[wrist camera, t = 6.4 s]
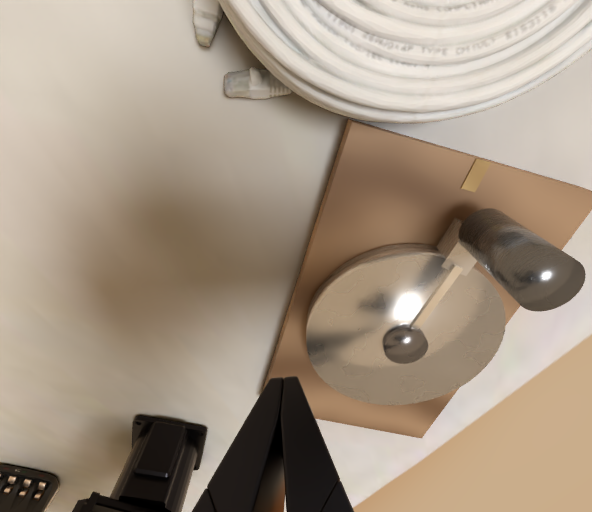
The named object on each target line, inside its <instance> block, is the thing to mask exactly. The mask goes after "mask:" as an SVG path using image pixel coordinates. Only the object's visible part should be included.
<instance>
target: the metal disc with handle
mask: <svg viewBox="0 0 592 512" xmlns="http://www.w3.org/2000/svg"><path fill="white" fill-rule="evenodd" d="M477 261H478V262H479V263H480V264H481V266H482V267H483V268H484V269H485V270H486V271H487V272H488V273H489V274H490V275H491V276H492V277H493V278H494V279H495V280H496V281H497V282H498V283H499V284H500V285H501V286H502V287H503V288H504V289H505V290H506V291H507V292H508V293H509V294H510V295H511V296H512V297H513V298H514V299H515V300H516V301H517V302H518V303H519V304H520V305H521V306H522V307H524V308H525V309H528V310H531V311H547V310H551V309H554V308H557V307H559V306H561V305H563V304H565V303H567V302H568V301H570V300H571V299H572V298H573V297H574V296H575V295H576V294H577V293H578V292H579V291H580V289H581V288H582V286H583V284H584V281H585V270H584V267H583V266H582V264H581V263H580V262H578V261H577V260H575V259H574V258H572V257H571V256H569V255H568V254H566V253H565V252H563V251H562V250H560V249H558V248H557V247H555V246H554V245H552V244H551V243H549V242H548V241H546V240H545V239H543V238H541V237H540V236H538V235H537V234H535V233H534V232H532V231H531V230H529V229H528V228H526V227H524V226H523V225H521V224H520V223H518V222H517V221H515V220H514V219H512V218H511V217H509V216H507V215H506V214H504V213H503V212H501V211H499V210H497V209H493V208H485V209H481V210H478V211H476V212H474V213H472V214H471V215H470V216H468V217H467V218H466V219H465V220H464V221H461V220H459V219H456V218H454V220H453V221H452V223H451V224H450V226H449V227H448V229H447V230H446V232H445V233H444V235H443V236H442V238H441V240H440V241H439V243H438V244H437V246H432V245H426V244H397V245H391V246H386V247H381V248H378V249H375V250H371V251H368V252H366V253H364V254H361V255H359V256H357V257H355V258H353V259H351V260H350V261H348V262H346V263H345V264H343V265H342V266H341V267H339V268H338V269H337V270H335V271H334V272H333V273H332V274H331V275H330V276H329V277H328V278H327V279H326V280H325V281H324V282H323V283H322V285H321V286H320V287H319V288H318V290H317V292H316V294H315V295H314V297H313V299H312V301H311V304H310V306H309V310H308V314H307V322H306V343H307V352H308V355H309V359H310V361H311V363H312V366H313V368H314V369H315V371H316V372H317V374H318V375H319V376H320V377H321V378H322V379H323V381H324V382H325V383H327V384H328V385H329V386H330V387H332V388H333V389H335V390H336V391H338V392H339V393H341V394H343V395H345V396H348V397H350V398H353V399H356V400H359V401H362V402H367V403H371V404H379V405H406V404H413V403H419V402H423V401H427V400H431V399H434V398H437V397H440V396H442V395H445V394H447V393H449V392H451V391H453V390H455V389H457V388H459V387H461V386H462V385H464V384H466V383H467V382H469V381H470V380H471V379H473V378H474V377H475V376H476V375H478V374H479V373H480V372H481V371H482V370H483V369H484V368H485V367H486V366H487V364H488V363H489V362H490V361H491V360H492V358H493V357H494V355H495V354H496V352H497V350H498V348H499V346H500V344H501V342H502V339H503V335H504V332H505V324H506V317H505V309H504V305H503V302H502V299H501V297H500V295H499V293H498V291H497V290H496V289H495V287H494V286H493V285H492V284H491V282H490V281H489V280H488V279H487V278H486V277H485V276H484V275H483V274H482V273H481V272H480V271H479V270H478V269H477V268H476V267H475V266H474V265H475V264H476V262H477Z"/></svg>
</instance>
